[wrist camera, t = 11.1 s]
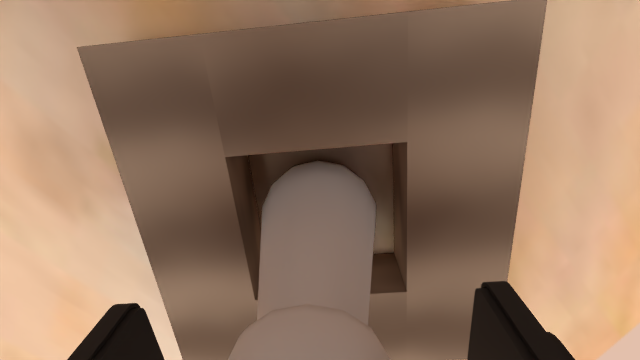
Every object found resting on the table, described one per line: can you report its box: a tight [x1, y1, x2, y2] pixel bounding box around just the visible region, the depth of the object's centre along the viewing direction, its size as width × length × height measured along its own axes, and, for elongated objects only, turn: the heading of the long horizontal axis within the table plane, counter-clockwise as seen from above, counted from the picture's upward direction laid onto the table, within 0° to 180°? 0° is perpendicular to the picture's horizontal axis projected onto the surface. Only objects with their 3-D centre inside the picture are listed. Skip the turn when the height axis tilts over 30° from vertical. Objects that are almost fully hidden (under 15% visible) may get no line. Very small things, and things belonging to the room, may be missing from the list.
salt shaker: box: [228, 161, 390, 360], centre depth 13 cm, size 6×6×13 cm
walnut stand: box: [77, 0, 547, 360], centre depth 17 cm, size 18×18×4 cm
